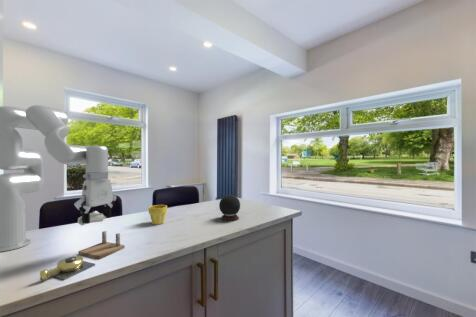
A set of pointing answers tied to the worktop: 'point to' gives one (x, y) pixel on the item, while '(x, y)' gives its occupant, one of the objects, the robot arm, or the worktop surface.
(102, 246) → the peg rack
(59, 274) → the base
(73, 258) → the gold elongated piece
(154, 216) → the plant pot
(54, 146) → the robot arm
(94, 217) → the pipe fitting
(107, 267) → the worktop surface
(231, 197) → the black round ball
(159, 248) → the worktop surface
